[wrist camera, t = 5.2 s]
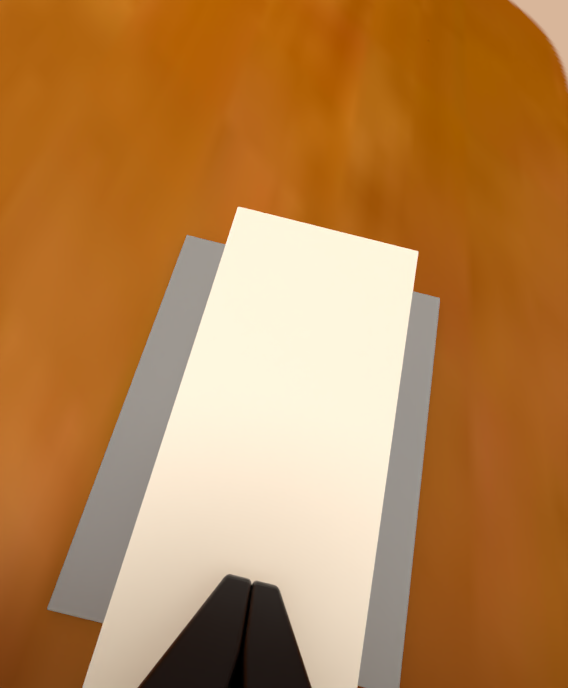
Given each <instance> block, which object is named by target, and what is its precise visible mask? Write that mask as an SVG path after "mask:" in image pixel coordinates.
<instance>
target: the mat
mask: <svg viewBox="0 0 568 688" xmlns="http://www.w3.org/2000/svg"><path fill="white" fill-rule="evenodd" d="M224 248H225V244H221V243H217V242H213V241H209V240H205V239H201V238H197V237H193V236H189V235H187V236H186V239H185V242H184V244H183V247H182V250H181V252H180V255H179V258H178V260H177V263H176V266H175V268H174V271H173V274H172V276H171V279H170V282H169V284H168V287H167V290H166V292H165V295H164V298H163V300H162V303H161V306H160V308H159V311H158V314H157V316H156V319H155V322H154V324H153V327H152V330H151V333H150V335H149V338H148V341H147V343H146V346H145V349H144V351H143V354H142V357H141V359H140V362H139V365H138V367H137V370H136V373H135V375H134V378H133V381H132V383H131V386H130V389H129V391H128V394H127V397H126V399H125V402H124V405H123V407H122V410H121V413H120V415H119V418H118V421H117V423H116V426H115V429H114V431H113V434H112V437H111V439H110V442H109V445H108V447H107V450H106V453H105V455H104V458H103V461H102V463H101V466H100V469H99V471H98V474H97V477H96V479H95V482H94V485H93V487H92V490H91V493H90V495H89V498H88V501H87V503H86V506H85V509H84V511H83V514H82V517H81V520H80V522H79V525H78V528H77V530H76V533H75V536H74V538H73V541H72V544H71V546H70V549H69V552H68V554H67V557H66V560H65V562H64V565H63V568H62V570H61V573H60V576H59V578H58V581H57V584H56V586H55V589H54V592H53V594H52V597H51V600H50V602H49V605H48V608H47V610H51V611H55V612H59V613H63V614H67V615H71V616H75V617H79V618H84V619H88V620H92V621H96V622H100V623H103V622H104V619H105V616H106V613H107V610H108V607H109V604H110V600H111V597H112V594H113V591H114V588H115V585H116V582H117V579H118V576H119V573H120V570H121V567H122V563H123V560H124V557H125V554H126V551H127V548H128V545H129V542H130V539H131V536H132V533H133V529H134V526H135V523H136V520H137V517H138V514H139V511H140V508H141V505H142V502H143V499H144V495H145V492H146V489H147V486H148V483H149V480H150V477H151V474H152V471H153V468H154V465H155V462H156V458H157V455H158V452H159V449H160V446H161V443H162V440H163V437H164V434H165V431H166V428H167V424H168V421H169V418H170V415H171V412H172V409H173V406H174V403H175V400H176V397H177V394H178V390H179V387H180V384H181V381H182V378H183V375H184V372H185V369H186V366H187V363H188V360H189V357H190V353H191V350H192V347H193V344H194V341H195V338H196V335H197V332H198V329H199V326H200V323H201V319H202V316H203V313H204V310H205V307H206V304H207V301H208V298H209V295H210V292H211V289H212V285H213V282H214V279H215V276H216V273H217V270H218V267H219V264H220V261H221V258H222V255H223V252H224ZM439 304H440V298H437V297H433V296H429V295H425V294H421V293H417V292H413V293H412V300H411V308H410V315H409V322H408V329H407V336H406V343H405V350H404V358H403V365H402V372H401V379H400V386H399V393H398V400H397V407H396V415H395V422H394V429H393V436H392V443H391V450H390V457H389V465H388V472H387V479H386V486H385V493H384V500H383V507H382V514H381V522H380V529H379V536H378V543H377V550H376V557H375V564H374V572H373V579H372V586H371V593H370V600H369V607H368V614H367V621H366V629H365V636H364V643H363V650H362V657H361V664H360V671H359V679H358V686H361V687H365V688H399V686H400V676H401V667H402V657H403V648H404V638H405V629H406V619H407V610H408V600H409V591H410V581H411V571H412V562H413V552H414V543H415V533H416V524H417V514H418V505H419V495H420V486H421V476H422V466H423V457H424V447H425V438H426V428H427V419H428V409H429V400H430V390H431V381H432V371H433V362H434V352H435V342H436V333H437V323H438V314H439Z"/></svg>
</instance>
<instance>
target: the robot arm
mask: <svg viewBox="0 0 568 688" xmlns="http://www.w3.org/2000/svg"><path fill="white" fill-rule="evenodd" d="M138 688H312V687H311V684H310V681H309V678H308V674H307V671H306V668H305V665H304V662H303V659H302V656H301V653H300V650H299V647H298V644H297V641H296V638H295V635H294V632H293V629H292V626H291V623H290V620H289V617H288V614H287V611H286V608H285V604H284V601H283V598H282V595H281V592H280V590H279V588H278V587H277V586H276V585H273V584H269V583H265V582H261V581H254V582H253V583H252V585H251V580H250V579H248V578H244V577H240V576H236V575H232V574H228V575H226V576H225V577H224V578H223V579H222V580H221V582H220V583H219V584H218V585H217V587H216V588H215V589H214V591H213V592H212V593H211V594H210V596H209V597H208V598H207V599H206V601H205V602H204V603H203V605H202V606H201V607H200V608H199V610H198V611H197V612H196V614H195V615H194V616H193V617H192V619H191V620H190V621H189V622H188V624H187V625H186V626H185V628H184V629H183V630H182V631H181V633H180V634H179V635H178V636H177V638H176V639H175V640H174V642H173V643H172V644H171V645H170V647H169V648H168V649H167V651H166V652H165V653H164V654H163V656H162V657H161V658H160V659H159V661H158V662H157V663H156V665H155V666H154V667H153V668H152V670H151V671H150V672H149V674H148V675H147V676H146V677H145V679H144V680H143V681H142V682H141V684H140V685H139V686H138Z"/></svg>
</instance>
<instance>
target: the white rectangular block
mask: <svg viewBox="0 0 568 688" xmlns="http://www.w3.org/2000/svg"><path fill="white" fill-rule="evenodd" d="M417 258H418V251H415V250H411V249H407V248H403V247H399V246H395V245H391V244H387V243H383V242H379V241H375V240H371V239H367V238H363V237H358V236H354V235H350V234H346V233H342V232H338V231H334V230H330V229H326V228H322V227H318V226H314V225H310V224H306V223H302V222H298V221H294V220H290V219H286V218H282V217H278V216H274V215H270V214H266V213H262V212H258V211H254V210H250V209H246V208H242V207H238V208H237V211H236V214H235V218H234V221H233V224H232V227H231V230H230V233H229V236H228V239H227V242H226V245H225V248H224V252H223V255H222V258H221V261H220V264H219V267H218V270H217V273H216V276H215V279H214V282H213V285H212V289H211V292H210V295H209V298H208V301H207V304H206V307H205V310H204V313H203V316H202V319H201V323H200V326H199V329H198V332H197V335H196V338H195V341H194V344H193V347H192V350H191V353H190V357H189V360H188V363H187V366H186V369H185V372H184V375H183V378H182V381H181V384H180V387H179V390H178V394H177V397H176V400H175V403H174V406H173V409H172V412H171V415H170V418H169V421H168V424H167V428H166V431H165V434H164V437H163V440H162V443H161V446H160V449H159V452H158V455H157V458H156V462H155V465H154V468H153V471H152V474H151V477H150V480H149V483H148V486H147V489H146V492H145V495H144V499H143V502H142V505H141V508H140V511H139V514H138V517H137V520H136V523H135V526H134V529H133V533H132V536H131V539H130V542H129V545H128V548H127V551H126V554H125V557H124V560H123V563H122V567H121V570H120V573H119V576H118V579H117V582H116V585H115V588H114V591H113V594H112V597H111V600H110V604H109V607H108V610H107V613H106V616H105V619H104V622H103V625H102V628H101V631H100V634H99V638H98V641H97V644H96V647H95V650H94V653H93V656H92V659H91V662H90V665H89V668H88V672H87V675H86V678H85V681H84V684H83V687H82V688H138V686H139V685H140V684H141V682H142V681H143V680H144V679H145V677H146V676H147V675H148V674H149V672H150V671H151V670H152V668H153V667H154V666H155V665H156V663H157V662H158V661H159V659H160V658H161V657H162V656H163V654H164V653H165V652H166V651H167V649H168V648H169V647H170V645H171V644H172V643H173V642H174V640H175V639H176V638H177V636H178V635H179V634H180V633H181V631H182V630H183V629H184V628H185V626H186V625H187V624H188V622H189V621H190V620H191V619H192V617H193V616H194V615H195V614H196V612H197V611H198V610H199V608H200V607H201V606H202V605H203V603H204V602H205V601H206V599H207V598H208V597H209V596H210V594H211V593H212V592H213V591H214V589H215V588H216V587H217V585H218V584H219V583H220V582H221V580H222V579H223V578H224V577H225V576H226V575H228V574H232V575H236V576H240V577H244V578H248V579H250V580H251V585H252V583H253V582H254V581H261V582H265V583H269V584H273V585H276V586H277V587H278V588H279V590H280V592H281V595H282V598H283V601H284V604H285V608H286V611H287V614H288V617H289V620H290V623H291V626H292V629H293V632H294V635H295V638H296V641H297V644H298V647H299V650H300V653H301V656H302V659H303V662H304V665H305V668H306V671H307V674H308V678H309V681H310V684H311V687H312V688H357V686H358V679H359V671H360V664H361V657H362V650H363V643H364V636H365V629H366V621H367V614H368V607H369V600H370V593H371V586H372V579H373V572H374V564H375V557H376V550H377V543H378V536H379V529H380V522H381V514H382V507H383V500H384V493H385V486H386V479H387V472H388V465H389V457H390V450H391V443H392V436H393V429H394V422H395V415H396V407H397V400H398V393H399V386H400V379H401V372H402V365H403V358H404V350H405V343H406V336H407V329H408V322H409V315H410V308H411V300H412V293H413V286H414V279H415V272H416V265H417Z"/></svg>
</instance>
